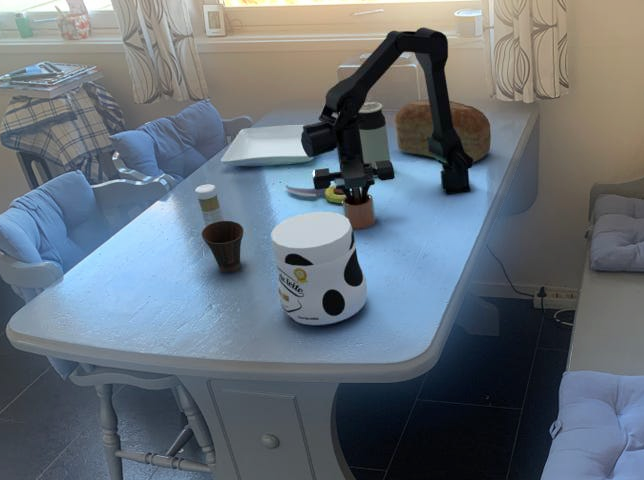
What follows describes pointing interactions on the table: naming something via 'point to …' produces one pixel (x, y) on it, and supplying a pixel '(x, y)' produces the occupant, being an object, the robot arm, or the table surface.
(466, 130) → the bread
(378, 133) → the travel mug
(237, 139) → the square plate
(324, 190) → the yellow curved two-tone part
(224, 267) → the cup
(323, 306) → the milk container
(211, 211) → the sprinkles bottle
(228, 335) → the table surface
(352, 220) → the terracotta cup
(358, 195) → the walnut stick
